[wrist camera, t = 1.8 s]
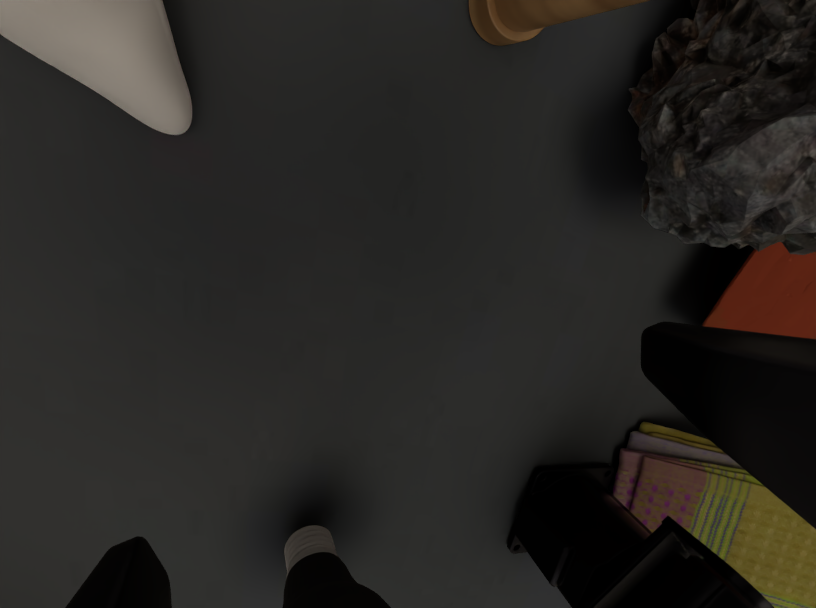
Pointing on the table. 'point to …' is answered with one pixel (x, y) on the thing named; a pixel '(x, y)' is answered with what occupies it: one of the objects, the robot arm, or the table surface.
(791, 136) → the rock
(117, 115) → the table surface
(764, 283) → the brick
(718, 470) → the dish towel
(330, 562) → the light bulb
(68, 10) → the nose
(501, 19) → the pestle
